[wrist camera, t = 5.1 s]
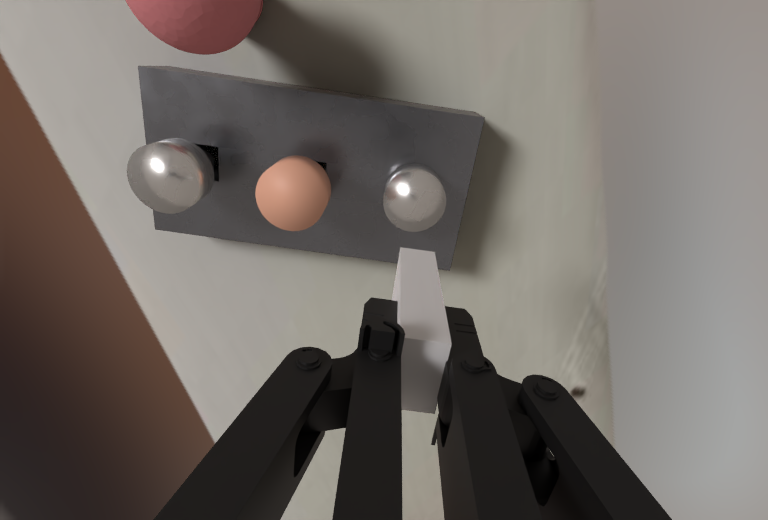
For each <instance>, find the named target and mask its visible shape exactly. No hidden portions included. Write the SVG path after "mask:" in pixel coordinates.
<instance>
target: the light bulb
mask: <svg viewBox="0 0 768 520" xmlns="http://www.w3.org/2000/svg"><path fill="white" fill-rule="evenodd" d="M126 2H127V4H128V6H129V7H130V9H131V10H132V12H133V13H134V15H135V16H136V17H137V19H138V20H139V21H140V22H141V23H142V24H143V25H144V26H145V27H146V28H147V29H148V30H149V31H150V32H151V33H152V34H153V35H155V36H156V37H157V38H159V39H160V40H162V41H163V42H165V43H167V44H169V45H171V46H173V47H175V48H177V49H179V50H182V51H185V52H189V53H195V54H216V53H220V52H224V51H226V50H229V49H231V48H233V47H234V46H236V45H237V44H239V43H240V42H241V41H242V40H243V39H244V38H245V37H246V36H247V35H248V34H249V33H250V31H251V29H252V28H253V26H254V24H255V22H256V21H257V20H258V19H259V17H260V15H261V12H262V8H263V0H126Z"/></svg>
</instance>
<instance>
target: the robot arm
mask: <svg viewBox="0 0 768 520" xmlns="http://www.w3.org/2000/svg"><path fill="white" fill-rule="evenodd" d="M437 402H438V409H439V414H438V418H437V422H436V426H435V430H434V434H433V438H432V444H431V445H435V443H436V439H437V445H438V455H439V466H440V476H441V487H442V497H443V508H444V518H445V520H672V519H671V518H670V517H669V515H668V514H667V513H666V512H665V510H664V509H663V508H662V507H661V505H660V504H659V503H658V502H657V501H656V499H655V498H654V497H653V496H652V494H651V493H650V492H649V491H648V490H647V488H646V487H645V486H644V485H643V484H642V482H641V481H640V480H639V478H638V477H637V476H636V475H635V474H634V472H633V471H632V470H631V469H630V468H629V466H628V465H627V464H626V463H625V461H624V460H623V459H622V458H621V457H620V455H619V454H618V453H617V451H616V450H615V449H614V448H613V447H612V445H611V444H610V443H609V442H608V440H607V439H606V438H605V437H604V436H603V434H602V433H601V432H600V431H599V429H598V428H597V427H596V426H595V424H594V423H593V422H592V421H591V420H590V418H589V417H588V416H587V415H586V413H585V412H584V411H583V410H582V409H581V407H580V406H579V405H578V404H577V402H576V401H575V400H574V399H573V397H572V396H571V395H570V394H569V393H568V391H567V390H566V389H565V388H564V387H563V386H562V385H561V384H560V383H558V382H556V381H555V380H553V379H551V378H548V377H545V376H542V375H530V376H527V377H526V378H524V379H523V382H522V384H521V383H518V382H515V381H512V380H509V379H507V378H504V377H502V376H500V375H498V374H497V372H496V369H495V367H494V365H493V364H492V362H490V361H489V360H488V359H487V358H485V357H484V356H483V353H482V349H481V346H480V342H479V339H478V335H477V332H476V328H475V325H474V321H473V318H472V316H471V315H470V314H469V313H468V312H467V311H466V310H465V309H461V308H454V307H446V306H445V305H444V300H443V294H442V289H441V283H440V278H439V273H438V267H437V262H436V256H435V252H432V251H425V250H417V249H410V248H402V247H400V252H399V259H398V265H397V271H396V277H395V284H394V290H393V296H392V300H386V299H378V298H370V299H369V300H368V301H367V302H366V303H365V305H364V312H363V319H362V325H361V328H360V334H359V341H358V348H357V349H356V350H355V352H353V353H352V354H350V355H348V356H346V357H342V358H336V359H331V356H330V355H329V354H328V353H327V352H326V351H323V350H321V349H319V348H314V347H302V348H299V349H296V350H293V351H292V352H291V353H289V354H288V355H287V356H286V357H285V359H284V360H283V361H282V362H281V364H280V365H279V366H278V367H277V369H276V370H275V371H274V372H273V373H272V375H271V376H270V377H269V378H268V380H267V381H266V382H265V383H264V385H263V386H262V387H261V388H260V389H259V391H258V392H257V393H256V394H255V396H254V397H253V398H252V399H251V400H250V402H249V403H248V404H247V405H246V407H245V408H244V409H243V410H242V412H241V413H240V414H239V415H238V416H237V418H236V419H235V420H234V421H233V423H232V424H231V425H230V426H229V428H228V429H227V430H226V431H225V432H224V434H223V435H222V436H221V437H220V439H219V440H218V441H217V442H216V443H215V445H214V446H213V447H212V449H211V450H210V451H209V452H208V454H207V455H206V456H205V457H204V458H203V460H202V461H201V462H200V463H199V464H198V466H197V467H196V468H195V469H194V471H193V472H192V473H191V474H190V475H189V477H188V478H187V479H186V480H185V482H184V483H183V484H182V485H181V487H180V488H179V489H178V490H177V492H176V493H175V494H174V495H173V496H172V498H171V499H170V500H169V501H168V502H167V504H166V505H165V506H164V507H163V509H162V510H161V511H160V512H159V514H158V515H157V516H156V517H155V519H154V520H280V519H281V517H282V515H283V513H284V511H285V509H286V508H287V506H288V504H289V502H290V500H291V498H292V496H293V494H294V492H295V490H296V488H297V487H298V485H299V483H300V481H301V479H302V477H303V475H304V473H305V471H306V469H307V467H308V466H309V464H310V462H311V460H312V458H313V456H314V454H315V452H316V450H317V448H318V446H319V445H320V443H321V441H322V439H323V437H324V434H325V431H327V430H333V429H339V428H346V431H345V438H344V445H343V452H342V458H341V465H340V472H339V479H338V486H337V492H336V499H335V506H334V513H333V520H402V416H401V410H409V411H417V412H425V413H433V414H435V410H436V406H437ZM549 449H550V450H549ZM550 451H551V452H552V453H551V452H550ZM552 454H553V455H554V456H553V455H552Z"/></svg>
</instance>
